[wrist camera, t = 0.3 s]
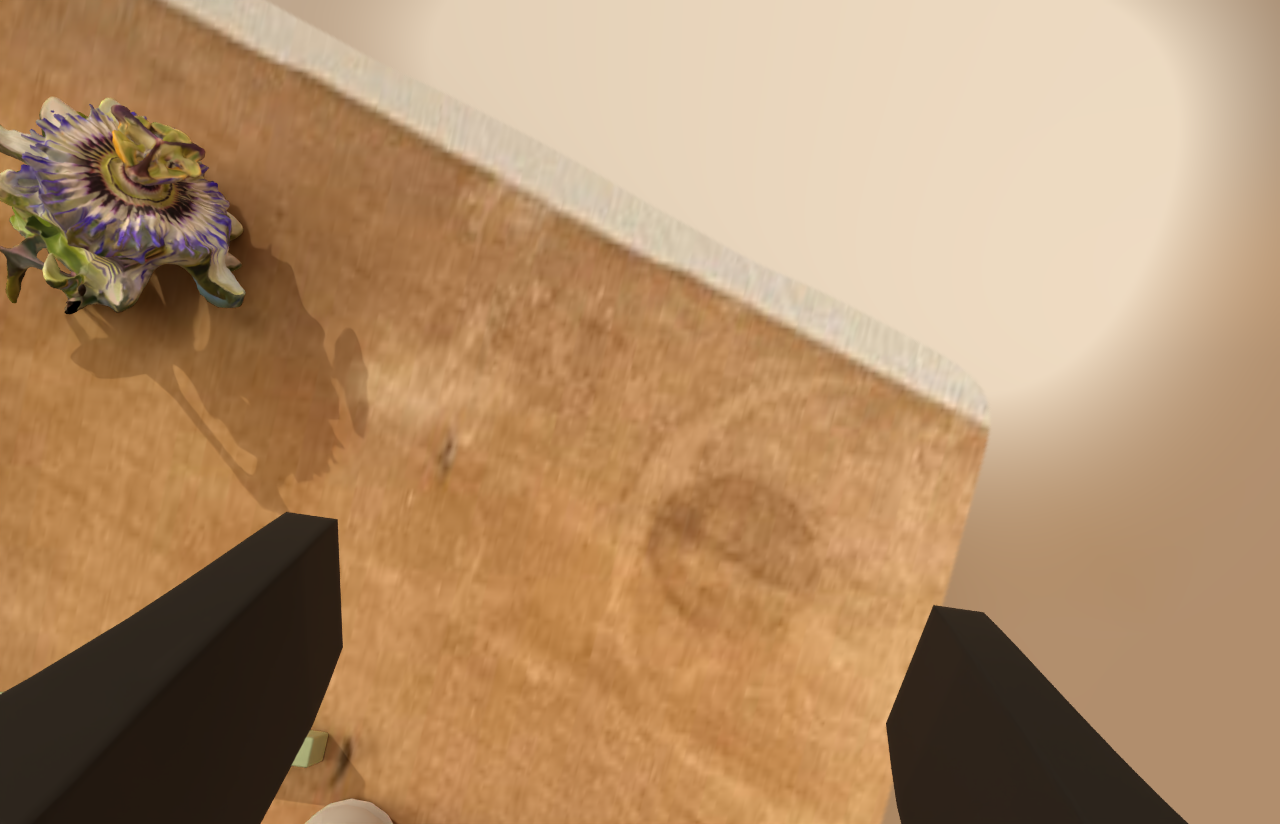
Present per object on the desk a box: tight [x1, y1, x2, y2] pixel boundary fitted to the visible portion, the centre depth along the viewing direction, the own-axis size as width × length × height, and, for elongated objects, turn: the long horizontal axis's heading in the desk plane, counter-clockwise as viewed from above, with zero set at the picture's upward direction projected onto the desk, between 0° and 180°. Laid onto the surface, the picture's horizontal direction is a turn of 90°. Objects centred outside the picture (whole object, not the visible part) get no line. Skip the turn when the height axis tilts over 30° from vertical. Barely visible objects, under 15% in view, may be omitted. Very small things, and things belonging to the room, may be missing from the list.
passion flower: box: [0, 97, 246, 314], centre depth 38 cm, size 11×11×12 cm
